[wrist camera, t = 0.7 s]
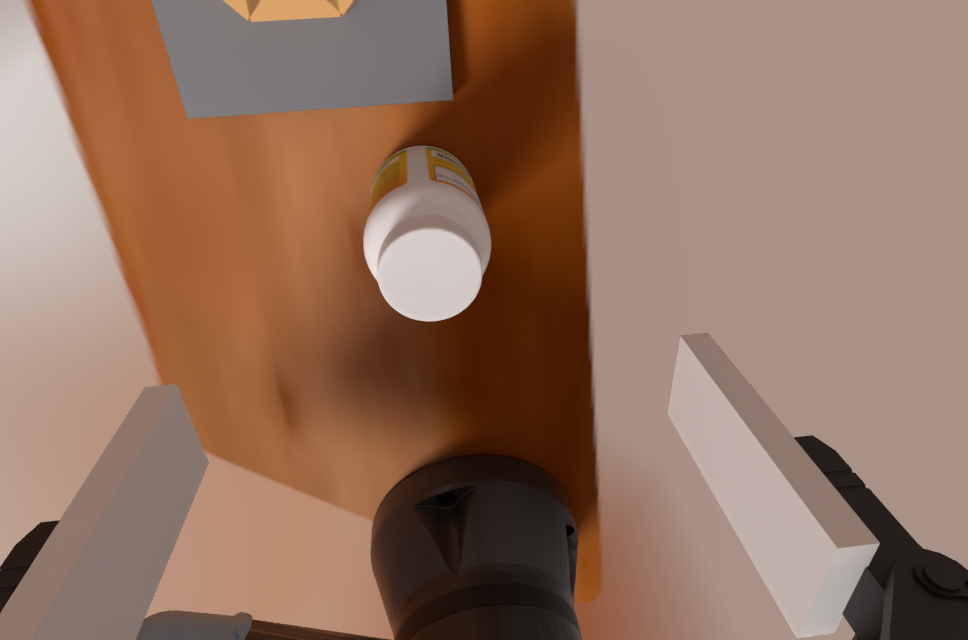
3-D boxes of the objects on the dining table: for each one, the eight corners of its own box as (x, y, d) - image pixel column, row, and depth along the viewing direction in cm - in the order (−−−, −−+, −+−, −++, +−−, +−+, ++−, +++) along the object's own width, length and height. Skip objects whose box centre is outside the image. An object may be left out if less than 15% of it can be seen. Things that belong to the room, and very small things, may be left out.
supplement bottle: (380, 249, 31) (371, 346, 22) (362, 149, 28) (343, 218, 20) (478, 237, 31) (505, 329, 23) (470, 138, 28) (496, 200, 20)
